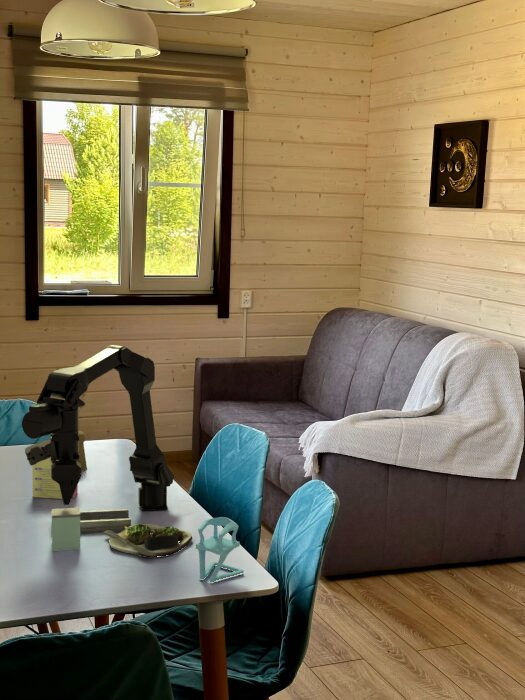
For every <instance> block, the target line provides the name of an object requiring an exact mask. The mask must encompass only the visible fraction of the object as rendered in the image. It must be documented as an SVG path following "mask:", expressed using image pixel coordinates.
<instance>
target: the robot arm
mask: <svg viewBox="0 0 525 700" xmlns="http://www.w3.org/2000/svg"><path fill="white" fill-rule="evenodd" d="M113 369H114V370H115V371H116V372H118V376H119V378H120V379H119V380H120V382H121V384H122V386H123V388H125V390H126V392H128V394H129V403H130V404H129V405H130V410H131V419H132V425H133V433H134V434H133V435H134V439H135V449H134V451H133V453H132V454H131V455H130V456H129V457H128V461H129V467H130V468H129V471H130V472H132V473H131V474H132V476H133V480H134V483H138V484H140V487H138V491H137V492H138V507H140V509H141V511H142V512H145V511H167V510H168V509H169V506H168V499H167V498H168V487H170V486H171V485H173V483H174V477H175V475H174V473H173V472H172V470H171V469H170V468H169V467H168V465H167V461H166V458H165V457H166V456H165V454H164V453H163V452H162V450H161V449H160V447H159V446H158V445H157V440H156V431H155V423H154V422H155V421H154V415H153V406H152V397H151V388H152V387H153V385H154V382H155V381H156V378H155V377H156V375H155V374H156V370H155V369H156V368H155V363H154V361H153V360H152V359H151V358H150V357H145V356H143V355H141V354H138V353H136V352H134V351H132V350H131V349H130V348H128V347H127V346H123V345H116V344H110V345H108V346H107V347H105V349H103V350H102V351H100V352H98V353H96V354H94V355H93V356H91V357H90V358H88V359H86V360H84V361H83V362H81V363H79V364H78V365H75V366H71V367H63V368H60V369H56V370H54V371H51V372H50V373H49V374H48V376H47V379H46V381H45V384H44V386H43V388H42V390H41V391H40V394H39V396H38V397H37V398H38V399H37V400H36V404H32V405H29V407H28V412H26V413H25V414H24V416H23V418H22V420H21V428H22V431H23V433H24V435H26V437H28V438H29V439H32V440H35V439H38V438H41V437H45V436H50V438H48V439H45V440H42V441H39V442H36V443H35V444H32V445H29V446H27V447H25V448H24V453H25V456H26V460H27V461H28V464H29V465H30V466H32V465H35V464H37V463H38V462H40V461H43V460H45V459H48V458H50V457H51V461H52V463H53V464H52V465H51V478H52V480H53V481H56V482H57V483H58V484H59V486H60V490H61V495H62V499H61V500H62V502H63V506H69V505H70V504H71V502H72V500H73V499H72V497H73V494H74V492H75V489H76V487H77V485H78V484H79V482H80V480H81V478H82V471H81V464H80V463H79V431H80V429H79V428H80V426H79V412H80V411H79V408H81V407H85V406H86V402H84V401H83V399H81V396H83V395H84V394H85V393H86V392H87V391H88V389H89V385H90V384H91V383H92V382H94V381H96V380H97V379H99V378H101V377H102V376H104V375H105V374H107V373H109V372H110V371H112V370H113Z"/></svg>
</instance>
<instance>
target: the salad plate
mask: <svg viewBox="0 0 525 700" xmlns="http://www.w3.org/2000/svg"><path fill="white" fill-rule="evenodd" d="M103 533H104V534H105V536H107V537H108V538H109V540H108V543H109V545H110V546H111V548H112V549H114V550H117V551H119V552H121V553H126V554H129V553H131V554H130V555H134V554H136V555H135V556H138V555H141V556H140V557H143V556H146V557H145V558H148V557H157V556H166V555H171V554H173V555H175V554H177V553H179V552H180V551H179V550H181V549H182V548H184V547H185V546H186V547H188V546H189V544H190V543H191V542H192V540H193V535H192V533H191V532H190V531H188V530H186V529H184V528H183V529H182V528H177V527H175V526H168V525H167V526H164V525H163V526H162V525H156V524H152V523H151V524H150V523H138V522H137V523H135V524H134V525H131V526H130V527H129V528H127V527H126V526H125V530H124V531H120V532H119V533H116V532H113V531H111V530H107V531H105V532H103ZM150 533H153V534H150ZM178 541H180V542H179V543H180V544H178ZM186 547H185V548H186ZM185 548H184V549H185ZM182 550H183V549H182ZM182 550H181V551H182ZM178 551H179V552H178ZM176 552H177V553H176ZM174 553H175V554H174ZM171 556H172V555H171Z"/></svg>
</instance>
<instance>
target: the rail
mask: <svg viewBox="0 0 525 700" xmlns="http://www.w3.org/2000/svg"><path fill="white" fill-rule="evenodd" d="M129 512H130V511H129V509H128V508H126V509H125V508H124V509H104V510H103V509H101V510H100V509H99V510H82V511H81V510H80V535H81V534H95V533H98V534H99V533H104V532H105V531H107V530H111V531H113V532H114V533H116V532H117V533H118V532H119V533H120V532H123V531H124V530H125V526H126V527H127V528H129V527H130V526H132V518H130V515H129Z"/></svg>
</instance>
